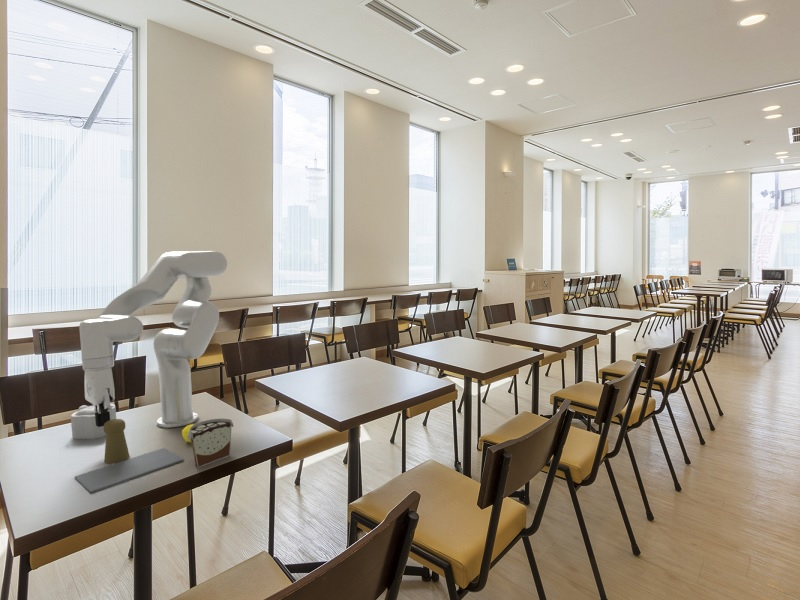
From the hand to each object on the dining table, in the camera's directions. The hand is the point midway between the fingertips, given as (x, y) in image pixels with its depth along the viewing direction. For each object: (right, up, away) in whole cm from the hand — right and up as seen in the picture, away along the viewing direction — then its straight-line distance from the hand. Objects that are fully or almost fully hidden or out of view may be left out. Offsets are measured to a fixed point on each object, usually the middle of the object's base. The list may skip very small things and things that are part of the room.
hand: (103, 425), depth 133 cm
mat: (+15, -9, -11) cm, 20 cm away
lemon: (+23, -7, +6) cm, 25 cm away
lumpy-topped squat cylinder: (-12, -7, +16) cm, 21 cm away
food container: (+33, -8, -5) cm, 34 cm away
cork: (+7, -8, -5) cm, 12 cm away
